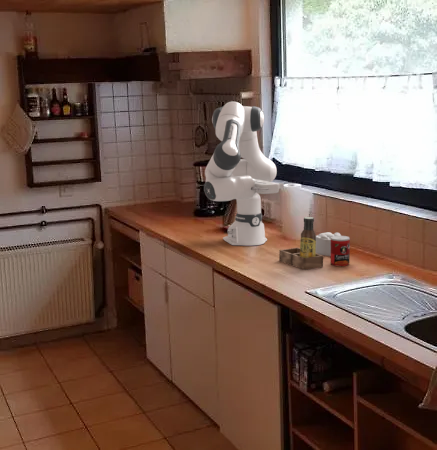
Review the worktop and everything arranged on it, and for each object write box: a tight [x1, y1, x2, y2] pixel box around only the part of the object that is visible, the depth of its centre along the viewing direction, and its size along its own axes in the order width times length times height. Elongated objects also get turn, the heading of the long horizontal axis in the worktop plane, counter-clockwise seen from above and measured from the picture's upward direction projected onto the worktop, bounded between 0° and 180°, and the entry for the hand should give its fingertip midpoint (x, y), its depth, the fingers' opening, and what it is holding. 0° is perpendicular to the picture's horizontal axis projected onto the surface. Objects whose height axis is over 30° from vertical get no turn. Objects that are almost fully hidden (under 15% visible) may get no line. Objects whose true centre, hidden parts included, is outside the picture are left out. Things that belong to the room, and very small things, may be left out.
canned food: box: [330, 235, 351, 267], centre depth 290 cm, size 8×8×11 cm
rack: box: [278, 247, 324, 271], centre depth 293 cm, size 18×9×4 cm, turn 28°
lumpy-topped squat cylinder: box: [316, 231, 342, 257], centre depth 310 cm, size 10×13×9 cm
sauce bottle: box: [299, 216, 317, 258], centre depth 287 cm, size 6×6×20 cm
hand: (275, 184), depth 279 cm, fingers open, 8 cm apart
